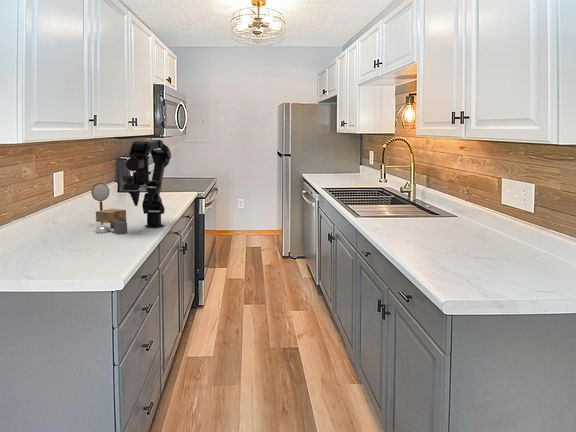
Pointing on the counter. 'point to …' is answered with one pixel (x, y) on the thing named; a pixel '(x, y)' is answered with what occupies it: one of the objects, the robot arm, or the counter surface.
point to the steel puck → (102, 229)
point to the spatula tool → (119, 227)
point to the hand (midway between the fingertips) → (143, 204)
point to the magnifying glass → (100, 193)
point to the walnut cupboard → (111, 216)
